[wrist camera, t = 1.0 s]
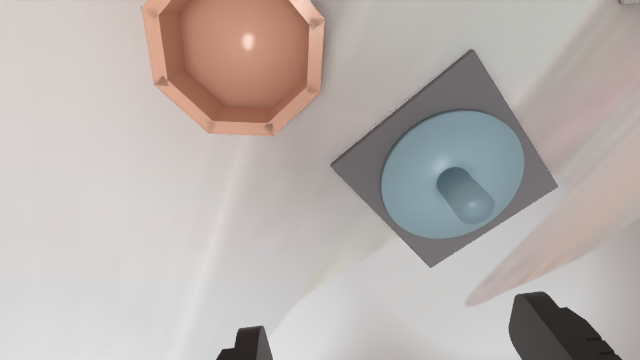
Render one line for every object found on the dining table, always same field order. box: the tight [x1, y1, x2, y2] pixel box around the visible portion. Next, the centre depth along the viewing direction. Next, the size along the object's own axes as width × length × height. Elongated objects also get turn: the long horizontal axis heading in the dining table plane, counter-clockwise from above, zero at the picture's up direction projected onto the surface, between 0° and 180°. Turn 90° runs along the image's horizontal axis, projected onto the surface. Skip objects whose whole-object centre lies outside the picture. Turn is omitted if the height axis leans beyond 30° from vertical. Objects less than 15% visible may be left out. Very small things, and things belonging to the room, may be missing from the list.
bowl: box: [141, 0, 325, 136], centre depth 26 cm, size 12×12×5 cm
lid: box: [380, 109, 524, 239], centre depth 31 cm, size 14×14×6 cm
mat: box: [331, 50, 558, 268], centre depth 34 cm, size 16×18×1 cm
